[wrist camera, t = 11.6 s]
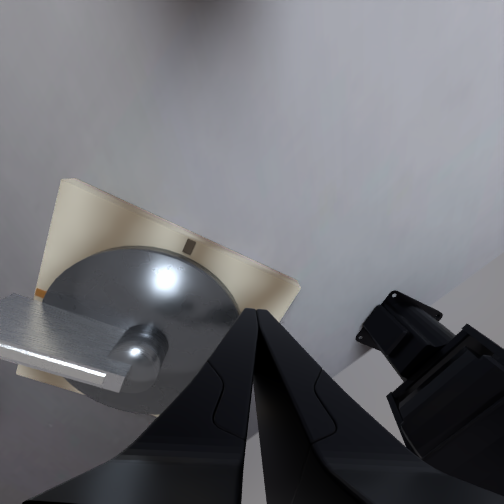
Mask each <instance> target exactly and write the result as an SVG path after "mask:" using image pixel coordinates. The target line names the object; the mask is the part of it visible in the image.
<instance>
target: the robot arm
mask: <svg viewBox="0 0 504 504" xmlns="http://www.w3.org/2000/svg"><path fill="white" fill-rule="evenodd" d="M394 293H396V294H397V295H396V297H392V294H394ZM442 316H443V315H442V313H441V312H439V311H438V310H436V309H434V308H432V307H430V306H427V305H425V304H423V303H421V302H419V301H417V300H415V299H413V298H411V297H409V296H407V295H405V294H403V293H401V292H398V291H396V290H395V291H392V292H391V293H390V294H389V295H388V296H387V297H386V299H385V300H384V301H383V303H382V304H381V305H378V306H377V307H376V308H375V310H374V311H373V312H372V314H371V315H370V316H369V317H368V319H367V320H366V321H365V323H364V324H363V325H364V327H363V328H362V329H361V331H360V332H359V333H358V334H357V336H356V340H357V341H358V342H361V343H363V344H365V345H368V346H370V347H372V348H375V349H377V350H379V351H381V352H382V353H383V354H384V355H385V357H386V358H387V360H388V361H389V363H390V364H391V365H392V367H393V368H394V369H395V371H396V372H397V373H398V375H399V376H400V377H401V379H402V380H403V381H404V383H403V384H401V385H400V386H399V387H398V388H397V389H396V390H395V391H394V392H390V393H389V394H388V395H387V396H386V397H387V400H388V402H389V404H390V407H391V410H392V413H393V415H394V418H395V420H396V422H397V425H398V428H399V430H400V433H401V435H402V437H403V440H404V443H405V445H406V447H405V446H404V445H403V444H402V443H401V442H400V441H398V440H397V439H396V438H395V437H394V436H393V435H392V434H391V433H390V432H388V431H387V430H386V429H385V428H384V427H383V426H382V425H381V424H379V423H378V422H377V421H376V420H375V419H374V418H373V417H372V416H371V415H369V414H368V413H367V412H366V411H365V410H364V409H363V408H362V407H361V406H360V405H359V404H357V403H356V402H355V401H354V400H353V399H352V398H351V397H350V396H349V395H348V394H347V393H346V392H345V391H344V390H343V389H342V388H341V387H340V386H339V385H338V384H337V383H336V382H335V381H333V379H332V378H331V377H330V376H329V375H328V374H327V373H326V372H325V371H324V370H322V368H321V367H320V365H319V364H318V363H317V362H316V361H315V360H314V359H313V358H312V357H311V356H310V355H309V354H308V353H307V352H306V351H305V350H304V348H303V347H302V346H301V345H300V344H299V343H298V342H297V341H296V340H295V339H294V338H293V337H292V336H291V335H290V334H289V332H288V331H287V330H286V329H285V328H284V327H283V326H282V325H281V324H280V323H279V322H278V321H277V320H276V319H275V318H274V317H273V315H272V314H271V313H270V312H269V311H268V310H266V309H256V310H255V309H254V308H244V310H243V311H242V312H241V314H240V315H239V316H238V318H237V319H236V321H235V322H234V323H233V325H232V326H231V328H230V329H229V330H228V332H227V333H226V334H225V336H224V337H223V339H222V340H221V341H220V343H219V344H218V345H217V347H216V348H215V350H214V351H213V352H212V354H211V355H210V357H209V358H208V359H207V361H206V362H205V363H204V365H203V366H202V367H201V369H200V370H199V371H198V373H197V374H196V375H195V377H194V378H193V379H192V380H191V382H190V383H189V384H188V385H187V386H186V387H185V388H184V390H183V391H182V392H181V393H180V394H179V395H178V396H177V397H176V398H175V399H174V400H173V401H172V403H171V404H170V405H169V406H168V407H167V408H166V409H165V410H164V411H163V412H162V413H161V414H160V415H159V416H158V417H157V418H156V419H155V420H154V421H153V422H152V424H151V425H150V426H149V427H148V428H147V429H146V430H145V431H144V432H143V433H142V434H141V435H140V436H139V437H138V438H137V439H136V440H135V441H134V442H133V443H132V444H131V445H130V446H129V447H128V448H126V449H125V450H124V451H123V452H121V453H120V454H119V455H117V456H116V457H114V458H113V459H111V460H110V461H108V462H106V463H104V464H102V465H99V466H97V467H95V468H93V469H91V470H89V471H87V472H85V473H83V474H81V475H78V476H76V477H74V478H72V479H70V480H68V481H66V482H64V483H62V484H60V485H58V486H55V487H53V488H51V489H49V490H47V491H45V492H43V493H41V494H39V495H37V496H34V497H32V498H30V499H28V500H26V501H24V502H23V503H22V504H241V499H242V482H243V468H244V457H245V447H246V439H247V430H248V421H249V412H250V403H251V394H252V385H253V384H254V393H255V402H256V411H257V420H258V429H259V438H260V447H261V456H262V465H263V474H264V483H265V492H266V501H267V504H504V349H503V348H502V347H500V346H499V345H498V344H496V343H495V342H493V341H492V340H490V339H489V338H487V337H486V336H484V335H483V334H481V333H480V332H478V331H477V330H476V329H474V328H473V327H471V326H470V325H468V324H466V325H465V326H464V327H463V328H462V329H463V330H462V331H461V332H459V333H458V334H457V335H454V334H453V333H452V332H450V330H448V329H447V328H446V327H445V326H443V325H442V324H441V323H439V320H440V319H441V318H442ZM360 336H363V338H362V339H359V337H360Z"/></svg>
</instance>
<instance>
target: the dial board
mask: <svg viewBox="0 0 504 504" xmlns="http://www.w3.org/2000/svg"><path fill="white" fill-rule="evenodd" d="M138 245H139V246H150V247H157V248H162V249H166V250H170V251H173V252H176V253H179V254H182V255H184V256H186V257H188V258H190V259H192V260H194V261H196V262H198V263H199V264H201V265H202V266H204V267H206V268H207V269H208V270H209V271H211V272H212V273H213V274H214V275H216V276H217V277H218V278H219V279H220V280H221V281H222V282H223V284H224V285H225V286H226V287H227V288H228V290H229V291H230V292H231V294H232V295H233V297H234V299H235V301H236V303H237V304H238V307H239V309H240V312H242V311H243V310H244V308H254V309H255V310H256V309H266V310H268V311H269V312H270V313H271V314H272V315H273V317H274V318H275V319H276V320H277V321H278V322H280V320H281V319H282V317H283V316H284V314H285V312H286V311H287V309H288V308H289V306H290V305H291V303H292V302H293V300H294V298H295V297H296V295H297V294H298V292H299V291H300V289H301V287H300V285H299V283H298V281H297V280H295V279H293V278H291V277H289V276H286V275H284V274H282V273H280V272H278V271H276V270H273V269H271V268H269V267H267V266H265V265H263V264H260V263H258V262H256V261H254V260H252V259H250V258H247V257H245V256H243V255H241V254H239V253H237V252H234V251H232V250H230V249H228V248H226V247H223V246H221V245H219V244H217V243H215V242H213V241H210V240H208V239H206V238H204V237H202V236H200V235H197V234H195V233H193V232H191V231H189V230H187V229H184V228H182V227H180V226H178V225H176V224H173V223H171V222H169V221H167V220H165V219H163V218H160V217H158V216H156V215H154V214H152V213H150V212H147V211H145V210H143V209H141V208H139V207H137V206H134V205H132V204H130V203H128V202H126V201H124V200H121V199H119V198H117V197H115V196H113V195H110V194H108V193H106V192H104V191H102V190H100V189H97V188H95V187H93V186H91V185H89V184H87V183H84V182H82V181H80V180H78V179H76V178H74V179H61V182H60V187H59V191H58V195H57V200H56V204H55V208H54V212H53V217H52V221H51V225H50V230H49V234H48V238H47V243H46V247H45V251H44V256H43V260H42V264H41V269H40V273H39V277H38V281H37V286H36V290H35V294H34V300H37V301H40V302H42V301H43V298H44V296H45V294H46V292H47V290H48V288H49V287H50V286H51V284H52V283H53V282H54V280H55V279H56V278H57V277H58V276H59V275H60V274H62V273H63V272H64V271H65V270H66V269H68V268H69V267H71V266H72V265H74V264H75V263H77V262H79V261H81V260H82V259H84V258H86V257H88V256H90V255H92V254H95V253H97V252H100V251H103V250H106V249H110V248H115V247H121V246H138ZM16 374H17V375H21V376H24V377H27V378H31V379H34V380H37V381H41V382H44V383H47V384H51V385H54V386H57V387H60V388H64V389H67V390H70V391H74V392H77V393H80V394H83V393H82V392H80V391H79V390H77V389H76V388H75V387H73V386H72V385H71V384H70V383H69V382H67V381H66V380H65V378H64V377H61V376H58V375H54V374H51V373H47V372H44V371H40V370H37V369H33V368H30V367H26V366H23V365H19V364H18V368H17V372H16ZM84 395H85V394H84ZM150 415H152V414H150ZM159 415H160V414H158V415H153V416H156V417H158V416H159Z"/></svg>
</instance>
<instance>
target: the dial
mask: <svg viewBox="0 0 504 504" xmlns="http://www.w3.org/2000/svg"><path fill="white" fill-rule="evenodd" d="M240 314H241V312H240V309H239V307H238V304H237V303H236V301H235V299H234V297H233V295H232V294H231V292H230V291H229V290H228V288H227V287H226V286H225V285H224V284H223V282H222V281H221V280H220V279H219V278H218V277H217V276H216V275H214V274H213V273H212V272H211V271H209V270H208V269H207V268H206V267H204V266H202V265H201V264H199V263H198V262H196V261H194V260H192V259H190V258H188V257H186V256H184V255H182V254H179V253H176V252H173V251H170V250H166V249H162V248H157V247H150V246H139V245H138V246H121V247H115V248H110V249H106V250H103V251H100V252H97V253H95V254H92V255H90V256H88V257H86V258H84V259H82V260H81V261H79V262H77V263H75V264H74V265H72V266H71V267H69V268H68V269H66V270H65V271H64V272H63V273H62V274H60V275H59V276H58V277H57V278H56V279H55V280H54V282H53V283H52V284H51V286H50V287H49V288H48V290H47V292H46V294H45V296H44V298H43V301H42V302H40V301H37V300H34V299H31V298H28V297H25V296H22V295H19V294H16V293H13V294H11V295H9V296H7V297H5V298H3V299H2V300H0V359H2V360H5V361H9V362H12V363H16V364H19V365H23V366H26V367H30V368H33V369H37V370H40V371H44V372H47V373H51V374H54V375H58V376H61V377H64V378H65V380H66V381H67V382H69V383H70V384H71V385H72V386H73V387H75V388H76V389H77V390H79V391H80V392H82V393H83V394H85V395H86V396H88V397H90V398H92V399H93V400H95V401H97V402H100V403H102V404H104V405H107V406H109V407H112V408H115V409H119V410H122V411H127V412H131V413H139V414H152V415H158V414H161V413H162V412H163V411H164V410H165V409H166V408H167V407H168V406H169V405H170V404H171V403H172V401H173V400H174V399H175V398H176V397H177V396H178V395H179V394H180V393H181V392H182V391H183V390H184V388H185V387H186V386H187V385H188V384H189V383H190V382H191V380H192V379H193V378H194V377H195V375H196V374H197V373H198V371H199V370H200V369H201V367H202V366H203V365H204V363H205V362H206V361H207V359H208V358H209V357H210V355H211V354H212V352H213V351H214V350H215V348H216V347H217V345H218V344H219V343H220V341H221V340H222V339H223V337H224V336H225V334H226V333H227V332H228V330H229V329H230V328H231V326H232V325H233V323H234V322H235V321H236V319H237V318H238V316H239V315H240Z"/></svg>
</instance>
